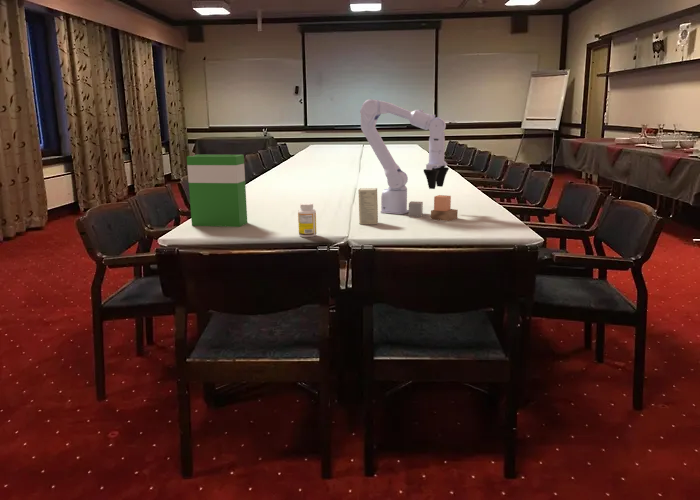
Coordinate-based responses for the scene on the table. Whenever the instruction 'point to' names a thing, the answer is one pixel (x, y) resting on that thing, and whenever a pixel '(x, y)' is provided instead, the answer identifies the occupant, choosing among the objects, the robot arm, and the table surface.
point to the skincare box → (368, 206)
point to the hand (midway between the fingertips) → (435, 187)
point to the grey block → (415, 209)
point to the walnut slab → (444, 215)
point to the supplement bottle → (307, 220)
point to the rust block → (442, 203)
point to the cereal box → (217, 190)
